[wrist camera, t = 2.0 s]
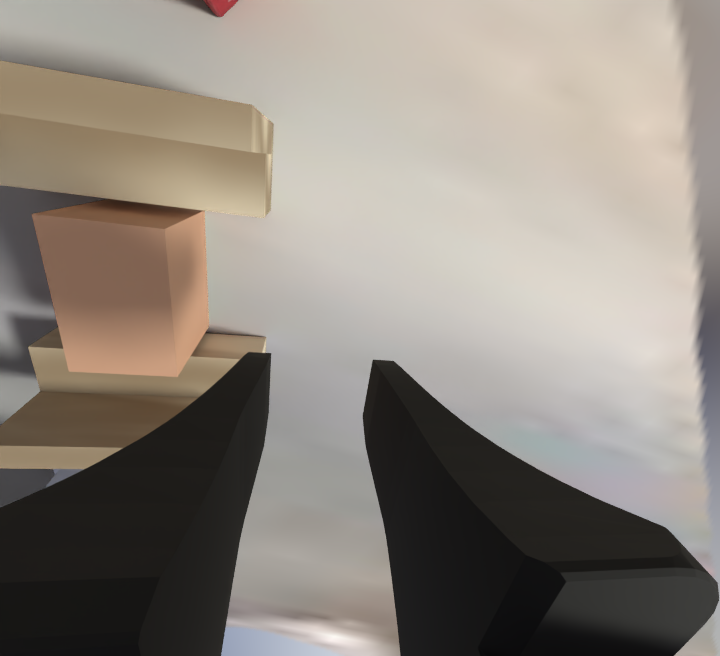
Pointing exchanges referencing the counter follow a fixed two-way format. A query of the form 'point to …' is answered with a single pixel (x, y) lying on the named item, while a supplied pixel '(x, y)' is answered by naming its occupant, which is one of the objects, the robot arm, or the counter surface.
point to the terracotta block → (126, 284)
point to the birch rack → (128, 183)
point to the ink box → (220, 6)
